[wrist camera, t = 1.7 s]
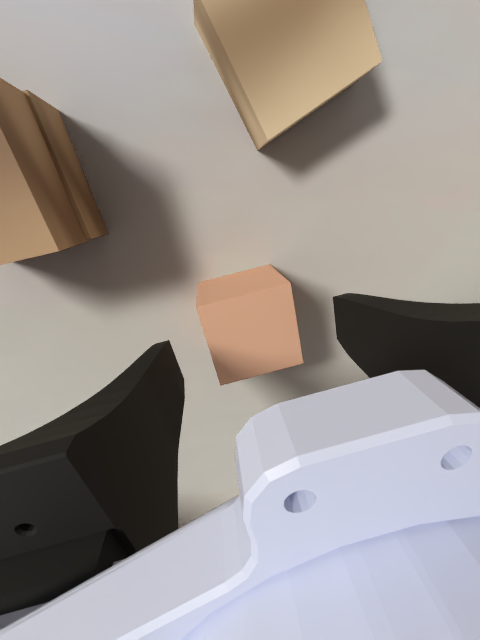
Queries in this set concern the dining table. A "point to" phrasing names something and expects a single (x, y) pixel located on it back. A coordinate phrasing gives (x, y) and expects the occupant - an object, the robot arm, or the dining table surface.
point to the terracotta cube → (249, 323)
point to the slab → (286, 55)
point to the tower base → (67, 166)
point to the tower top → (30, 187)
